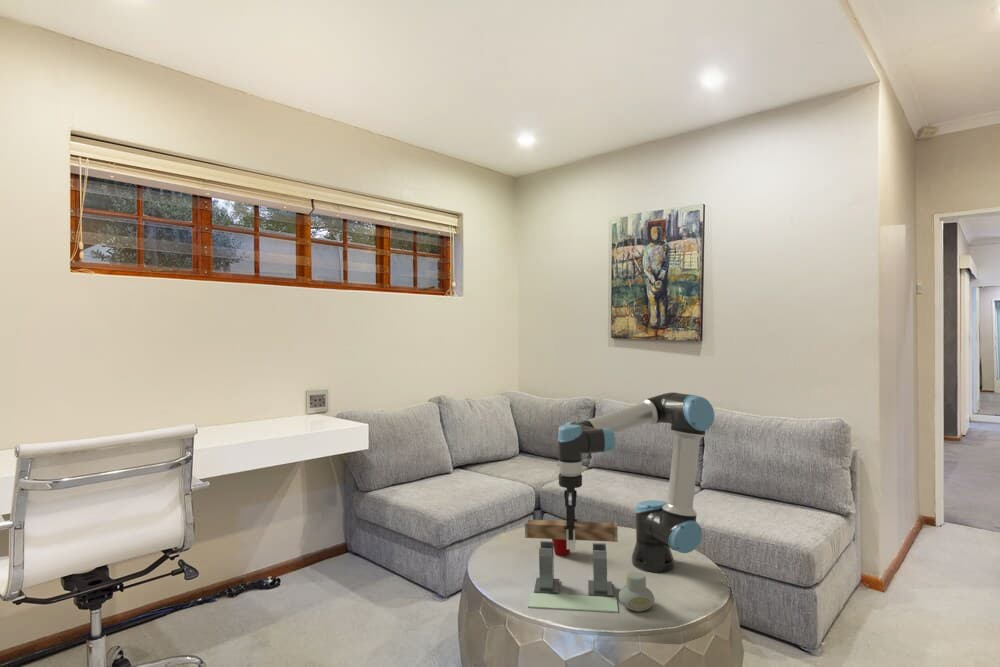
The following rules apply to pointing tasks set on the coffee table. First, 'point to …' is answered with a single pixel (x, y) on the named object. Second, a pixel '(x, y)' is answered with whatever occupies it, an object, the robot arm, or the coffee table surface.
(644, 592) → the air freshener
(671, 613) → the coffee table surface
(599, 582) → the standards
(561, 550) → the plastic cup
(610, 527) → the rail
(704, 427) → the robot arm
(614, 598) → the mat
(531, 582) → the coffee table surface
